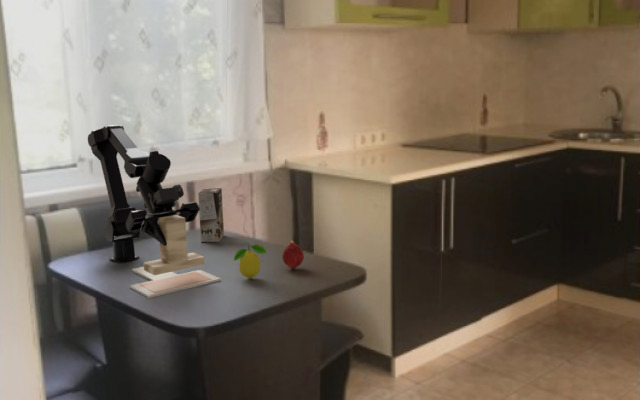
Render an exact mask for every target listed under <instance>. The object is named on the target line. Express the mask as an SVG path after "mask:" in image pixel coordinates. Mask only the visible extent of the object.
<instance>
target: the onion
mask: <svg viewBox="0 0 640 400" xmlns="http://www.w3.org/2000/svg"><path fill="white" fill-rule="evenodd" d="M281 256H282V257H281V259H282V262H283V263H284V264H285V265H286V266H287V267H288V268H290V269H291V270H295V269H297V268H298V267H300V265H301V264H302V263H303V262H304V258H305V257H304V256H305V255H304V252H303V249H302V248H301V247H300V246H299V245H298V244H296V242H295V241H293V240H290V243H289V244H288V245H287V246H286V247H285V248H284V249H283V252H282V255H281Z"/></svg>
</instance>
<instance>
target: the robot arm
mask: <svg viewBox="0 0 640 400" xmlns="http://www.w3.org/2000/svg"><path fill="white" fill-rule="evenodd" d="M87 143H88V146H89V147H90V150H91V153H92V154H93V155H94V157H95V158H97V159H98V160H99V161H100V164H101V165H100V166H101V169H102V175H103V179H104V181H105V182H104V183H105V187H106V191H107V194H108V199H109V203H110V211H109V213H108V216H107V220H108V223H107V226H106V229H105V231H104V236H105V240H106V241H108V242H110V243H112V253H113V256H112V257H111V256H110V257H109V258H108V260H110V261H113V262H117V263H124V262H130V261H132V260H133V261H134V260H137V259H140V256H139V255H136V252H135V251H136V250H135V244H134V239H135V238H136V239H138V238H140V235H141V234H140V233H146V234H147V235H148V236H150V237H152V238H153V239H154V240H156V241H157V242H158V243H159V244H160V243H161V244H163V245H164V246H166V245H167V242H166V239H165V237H164V235H163V233H162V231H161V229H160V227H159V224H158V218H160V217H166V216H172V215H178V216H181V217H184V218H185V223H191V222H193V221H195V220H196V217H197V215H199V210H200V208H199V203H197V202H196V201H190V202H184V203H182V204H181V206H180V208H179V209H174V207H175V206H176V201H178V200H180V199H181V198H183V196H184V195H185V193H184V190H183V186H181V184H175V185H173V186H172V187H166V188H163V186H162V184H161V183H163V182H164V181H165V179H166V177H167V175H168V172H169V169H170V168H171V165H172V163H171V162H172V161H171V160H170V158H168V157H167V156H166V155H164V154H162V153H159V151H158V150H150V152H147V151H146V150H142V149H140V148H139V147H138V146H137V145H136V144H135V143H134V142H133V140H132V138H130V136H129V135H128V134H127V133H126V131H125V128H124V125H121V124H110V125H109V124H108V125H105V126H103V127H102V128H99V129H95V130H94V129H93V130H91V132H90V133H89V134H88V135H87ZM117 155H120V157H121V158H122V159H123V161H124V164H123V169H124V171H125V173H126V175H127V177H129V179H136V178H138V180H137V182H136V187H135V190H136V192H137V193H140V196H141V197H142V199H143V202H144V204H143V207H144V209H138V210H137V209H136V207H135V206H133V207H132V206H131V205H130V204H129V203H128V199H127V195H126V190H125V187H124V183H123V182H124V181H123V178H122V174H121V170H120V169H121V168H120V165H119V162H118V158H117ZM146 209H147V210H146ZM147 211H148V212H147Z"/></svg>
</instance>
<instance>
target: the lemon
mask: <svg viewBox="0 0 640 400" xmlns="http://www.w3.org/2000/svg"><path fill="white" fill-rule="evenodd" d="M250 247H251V248H252V250H253V251H254V252H253V251H252V250H251V249H250ZM267 252H268V251H266V249H265V247H263V245H260V244H254V245H250V242H249V241H248V242H247V248H241V249H239V250H238V251H237V252H236V253H235V255H234V258H233V262H235V261H238V260H239V263H238V267H239V268H238V269H239V272H240V274H241V275H242V276H244V277H245V278H247V279H248V280H251V279H253V278H254V277H256V276H257V275H259V273H260V271H261V260H260V258H259V255H257V254H256V253H258V254H262V255H263V254H267Z"/></svg>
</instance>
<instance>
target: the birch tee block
mask: <svg viewBox="0 0 640 400" xmlns="http://www.w3.org/2000/svg"><path fill="white" fill-rule="evenodd" d="M186 223H187V222H186ZM186 223H185V218H184V217H181V216H178V215H172V216H166V217H160V218H158V224H159V227H160V229H161V231H162V233H163V235H164V237H165V239H166V242H167V245H166V246H164V245H163V244H161V243H160V242H159V250H160V251H159V253H160V258H159V259H155V260H149V261H145V262H143V267H144V270H145V271H147V272H149V273H151V274H153V275H159V274H164V273H168V272H177V271H181V270H186V269H190V268H195V267H198V266H199V267H200V266H204V265H205V262H206V261H205V256H203V255H201V254H198V253H196V252H189V253H188V245H187V244H188V243H187V241H188V240H187V226H186V225H187V224H186Z"/></svg>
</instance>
